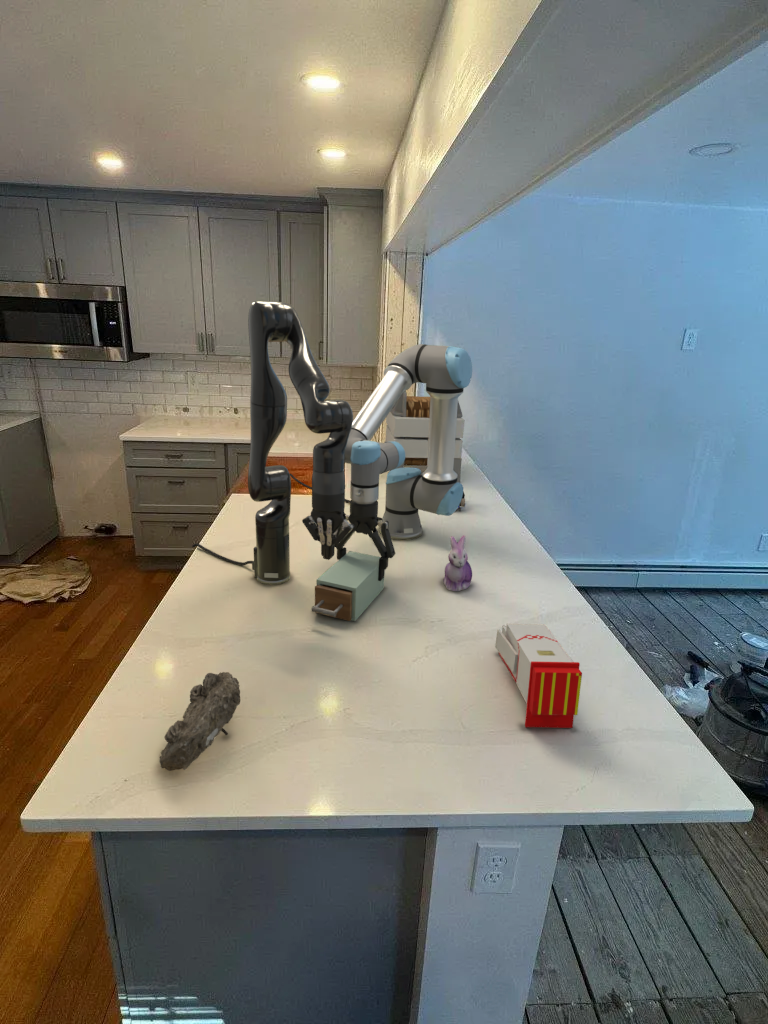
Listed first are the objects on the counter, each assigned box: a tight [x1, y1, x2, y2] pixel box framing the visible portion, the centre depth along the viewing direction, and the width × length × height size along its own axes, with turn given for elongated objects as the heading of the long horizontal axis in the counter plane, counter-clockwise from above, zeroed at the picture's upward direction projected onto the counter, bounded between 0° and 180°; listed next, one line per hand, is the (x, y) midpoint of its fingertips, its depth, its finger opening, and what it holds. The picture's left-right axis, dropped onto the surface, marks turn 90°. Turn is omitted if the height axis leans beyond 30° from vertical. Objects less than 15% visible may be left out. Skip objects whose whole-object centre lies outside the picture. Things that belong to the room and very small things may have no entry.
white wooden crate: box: [383, 390, 465, 483], centre depth 268 cm, size 34×33×41 cm
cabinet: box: [316, 550, 386, 622], centre depth 152 cm, size 20×11×9 cm, turn 159°
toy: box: [494, 623, 583, 729], centre depth 120 cm, size 12×13×30 cm
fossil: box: [159, 671, 241, 772], centre depth 102 cm, size 22×10×15 cm
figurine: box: [443, 534, 473, 592], centre depth 162 cm, size 9×10×15 cm
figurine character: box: [457, 490, 466, 511], centre depth 229 cm, size 7×8×15 cm
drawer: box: [311, 584, 352, 622], centre depth 148 cm, size 24×10×7 cm, turn 159°
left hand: (327, 558), depth 135 cm, fingers closed
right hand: (361, 574), depth 158 cm, fingers closed on cabinet, 11 cm apart
